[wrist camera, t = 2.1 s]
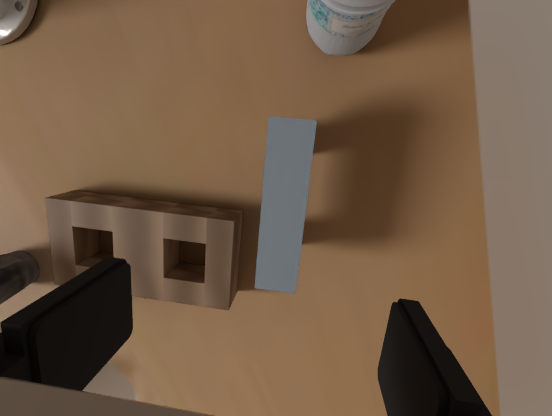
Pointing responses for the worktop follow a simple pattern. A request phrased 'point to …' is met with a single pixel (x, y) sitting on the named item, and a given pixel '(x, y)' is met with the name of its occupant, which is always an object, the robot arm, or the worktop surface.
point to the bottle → (344, 23)
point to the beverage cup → (16, 273)
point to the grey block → (284, 202)
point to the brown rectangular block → (148, 244)
